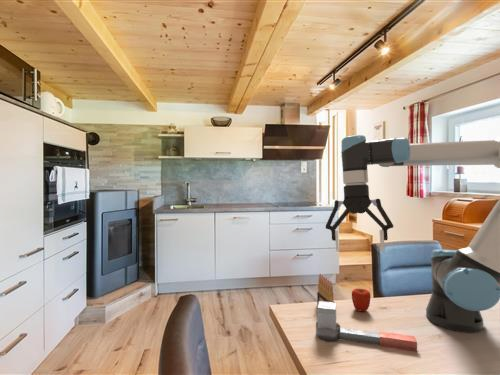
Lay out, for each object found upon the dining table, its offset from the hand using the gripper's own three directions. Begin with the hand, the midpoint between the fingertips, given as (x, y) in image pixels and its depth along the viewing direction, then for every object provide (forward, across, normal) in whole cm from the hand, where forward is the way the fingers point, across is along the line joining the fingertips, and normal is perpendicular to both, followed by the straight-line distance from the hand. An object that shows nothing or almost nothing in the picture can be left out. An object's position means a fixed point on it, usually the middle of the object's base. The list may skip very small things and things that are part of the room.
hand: (359, 250), depth 91 cm
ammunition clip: (+23, +12, -8) cm, 27 cm away
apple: (+24, 0, -11) cm, 26 cm away
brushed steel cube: (+20, +11, +9) cm, 25 cm away
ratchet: (+24, +1, +10) cm, 26 cm away
